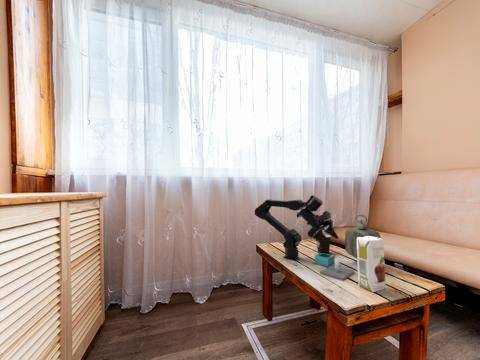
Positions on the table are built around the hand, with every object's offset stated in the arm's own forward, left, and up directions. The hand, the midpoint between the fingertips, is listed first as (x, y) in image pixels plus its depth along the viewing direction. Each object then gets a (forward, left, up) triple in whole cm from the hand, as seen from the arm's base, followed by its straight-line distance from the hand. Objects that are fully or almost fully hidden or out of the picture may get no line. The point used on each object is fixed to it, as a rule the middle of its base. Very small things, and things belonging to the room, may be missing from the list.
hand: (334, 240), depth 104 cm
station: (+4, -6, -13) cm, 15 cm away
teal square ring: (-6, +2, -13) cm, 14 cm away
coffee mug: (-17, +21, -13) cm, 30 cm away
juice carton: (+19, -10, -13) cm, 25 cm away
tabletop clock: (+8, +13, -13) cm, 20 cm away
